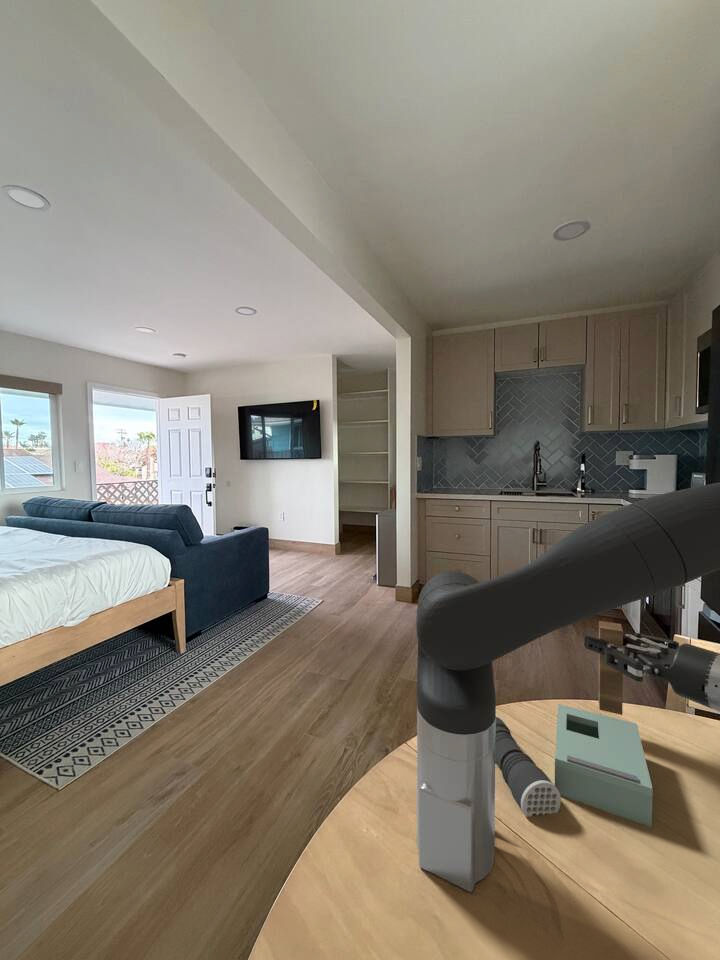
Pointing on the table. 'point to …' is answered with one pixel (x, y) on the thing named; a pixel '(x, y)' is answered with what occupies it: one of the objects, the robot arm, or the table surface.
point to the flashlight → (524, 776)
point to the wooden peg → (610, 671)
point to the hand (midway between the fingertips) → (593, 637)
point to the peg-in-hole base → (602, 764)
